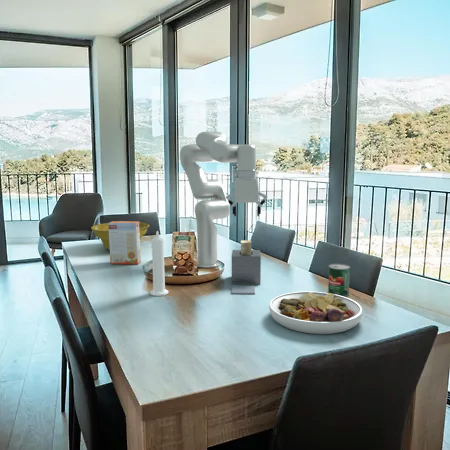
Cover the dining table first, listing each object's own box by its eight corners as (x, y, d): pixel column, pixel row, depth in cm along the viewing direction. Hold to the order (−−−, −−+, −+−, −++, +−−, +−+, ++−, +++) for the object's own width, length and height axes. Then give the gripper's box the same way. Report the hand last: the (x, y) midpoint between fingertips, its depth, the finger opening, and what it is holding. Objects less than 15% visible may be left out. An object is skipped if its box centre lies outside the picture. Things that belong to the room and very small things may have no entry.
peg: (240, 265, 192) (240, 242, 191) (241, 263, 197) (241, 240, 195) (251, 265, 192) (251, 242, 190) (251, 263, 196) (251, 240, 195)
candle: (164, 296, 174) (163, 232, 170) (147, 295, 176) (145, 232, 172) (170, 291, 181) (169, 229, 177) (153, 290, 183) (151, 228, 178)
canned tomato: (349, 291, 180) (350, 264, 178) (348, 297, 172) (350, 269, 170) (328, 289, 182) (329, 263, 180) (327, 296, 174) (328, 268, 172)
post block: (231, 284, 190) (231, 256, 188) (232, 276, 202) (232, 249, 200) (260, 284, 189) (260, 256, 187) (259, 276, 201) (259, 250, 199)
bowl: (254, 310, 160) (254, 289, 158) (327, 300, 170) (328, 280, 169) (297, 344, 132) (297, 318, 131) (381, 329, 142) (382, 305, 141)
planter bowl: (102, 243, 275) (101, 221, 272) (155, 243, 273) (154, 221, 271) (83, 255, 243) (82, 230, 241) (143, 255, 242) (142, 230, 239)
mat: (231, 294, 177) (231, 292, 177) (232, 287, 186) (232, 285, 186) (254, 294, 176) (254, 292, 176) (254, 287, 185) (254, 285, 185)
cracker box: (141, 261, 228) (139, 220, 225) (137, 264, 222) (136, 222, 219) (114, 261, 230) (112, 220, 226) (110, 264, 224) (107, 222, 220)
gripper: (225, 175, 185) (225, 217, 187) (267, 175, 184) (267, 217, 186) (226, 174, 192) (226, 214, 195) (267, 174, 191) (267, 214, 194)
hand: (246, 215), depth 190 cm, fingers open, 9 cm apart
